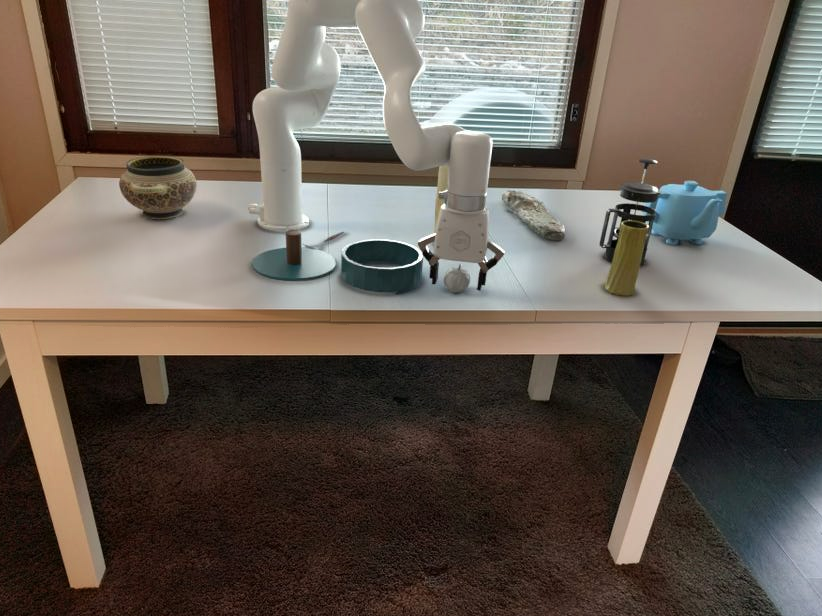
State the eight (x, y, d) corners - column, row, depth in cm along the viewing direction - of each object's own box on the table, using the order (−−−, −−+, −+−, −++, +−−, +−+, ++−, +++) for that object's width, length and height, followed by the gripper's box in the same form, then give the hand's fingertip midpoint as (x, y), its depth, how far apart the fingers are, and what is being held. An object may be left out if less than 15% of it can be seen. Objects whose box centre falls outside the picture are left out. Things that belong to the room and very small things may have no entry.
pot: (331, 288, 129) (331, 262, 127) (353, 259, 143) (353, 235, 141) (412, 299, 127) (414, 273, 124) (427, 268, 141) (429, 244, 138)
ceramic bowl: (152, 208, 175) (130, 152, 168) (215, 194, 174) (195, 138, 166) (121, 240, 154) (93, 178, 146) (192, 225, 153) (168, 161, 145)
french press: (638, 252, 156) (662, 155, 145) (654, 267, 148) (681, 165, 137) (590, 251, 155) (611, 153, 144) (604, 266, 147) (627, 163, 136)
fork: (349, 235, 157) (349, 227, 156) (311, 254, 145) (311, 246, 144) (340, 232, 158) (340, 224, 157) (301, 252, 146) (301, 243, 145)
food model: (461, 252, 151) (470, 165, 140) (432, 250, 151) (439, 163, 140) (459, 238, 159) (468, 154, 149) (432, 236, 159) (439, 152, 149)
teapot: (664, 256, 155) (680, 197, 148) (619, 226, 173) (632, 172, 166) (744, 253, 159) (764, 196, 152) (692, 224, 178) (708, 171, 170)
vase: (600, 284, 138) (614, 219, 131) (627, 284, 139) (643, 219, 132) (610, 296, 133) (626, 229, 126) (639, 296, 134) (656, 229, 126)
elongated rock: (535, 246, 160) (572, 248, 162) (540, 226, 157) (577, 228, 159) (492, 197, 188) (524, 199, 190) (496, 179, 185) (528, 181, 188)
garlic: (455, 282, 135) (457, 258, 133) (475, 290, 132) (478, 266, 130) (436, 289, 131) (438, 265, 129) (457, 298, 128) (459, 273, 126)
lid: (238, 277, 132) (235, 241, 128) (271, 247, 147) (269, 215, 143) (321, 288, 129) (320, 252, 125) (345, 257, 144) (346, 224, 140)
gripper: (416, 201, 121) (411, 286, 129) (510, 211, 118) (498, 298, 127) (424, 190, 127) (418, 272, 136) (513, 200, 124) (501, 283, 133)
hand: (456, 284), depth 131 cm, fingers open, 8 cm apart
